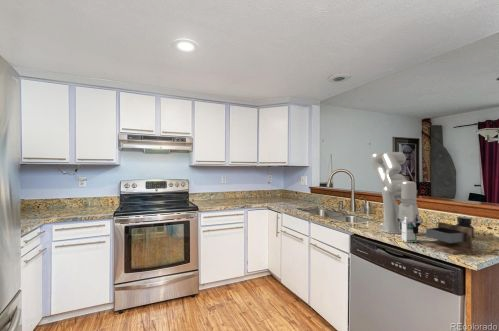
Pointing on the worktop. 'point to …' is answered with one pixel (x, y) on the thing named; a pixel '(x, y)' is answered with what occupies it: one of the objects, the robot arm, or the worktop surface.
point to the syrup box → (408, 231)
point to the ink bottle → (465, 223)
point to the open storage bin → (446, 234)
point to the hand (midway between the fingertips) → (408, 231)
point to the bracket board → (452, 247)
